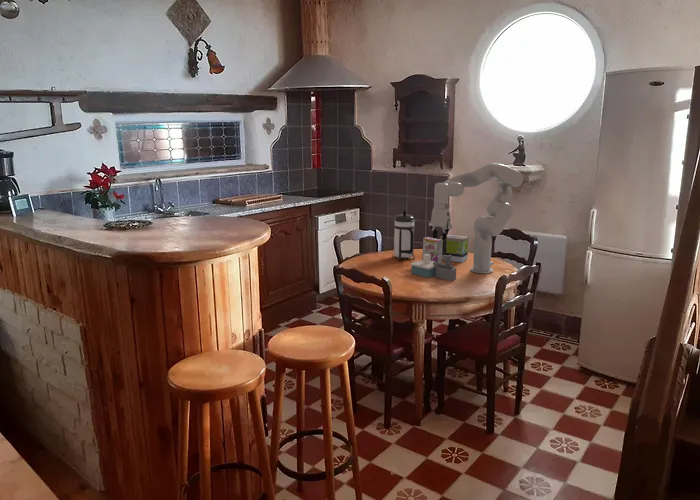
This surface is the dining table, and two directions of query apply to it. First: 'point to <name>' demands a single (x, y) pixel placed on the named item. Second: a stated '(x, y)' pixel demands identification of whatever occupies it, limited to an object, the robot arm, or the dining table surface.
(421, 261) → the lid
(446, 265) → the bolt
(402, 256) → the coffee press
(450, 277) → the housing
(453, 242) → the tea box
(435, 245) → the candy bar box
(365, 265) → the dining table surface
